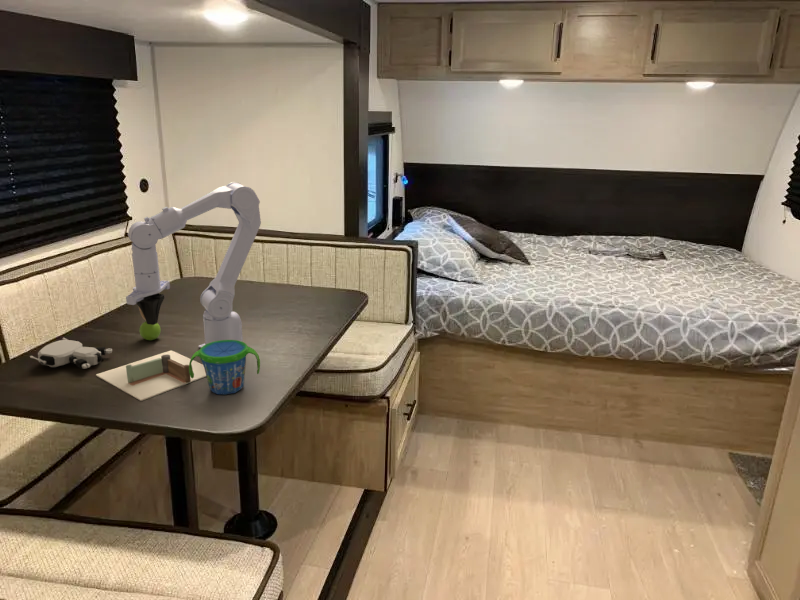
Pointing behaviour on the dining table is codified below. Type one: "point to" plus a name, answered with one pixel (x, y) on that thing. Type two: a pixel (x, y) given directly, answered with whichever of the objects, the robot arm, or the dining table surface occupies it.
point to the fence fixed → (175, 368)
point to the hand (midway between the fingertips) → (152, 323)
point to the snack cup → (224, 365)
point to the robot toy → (70, 354)
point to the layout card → (151, 378)
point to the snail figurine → (149, 329)
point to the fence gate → (144, 370)
